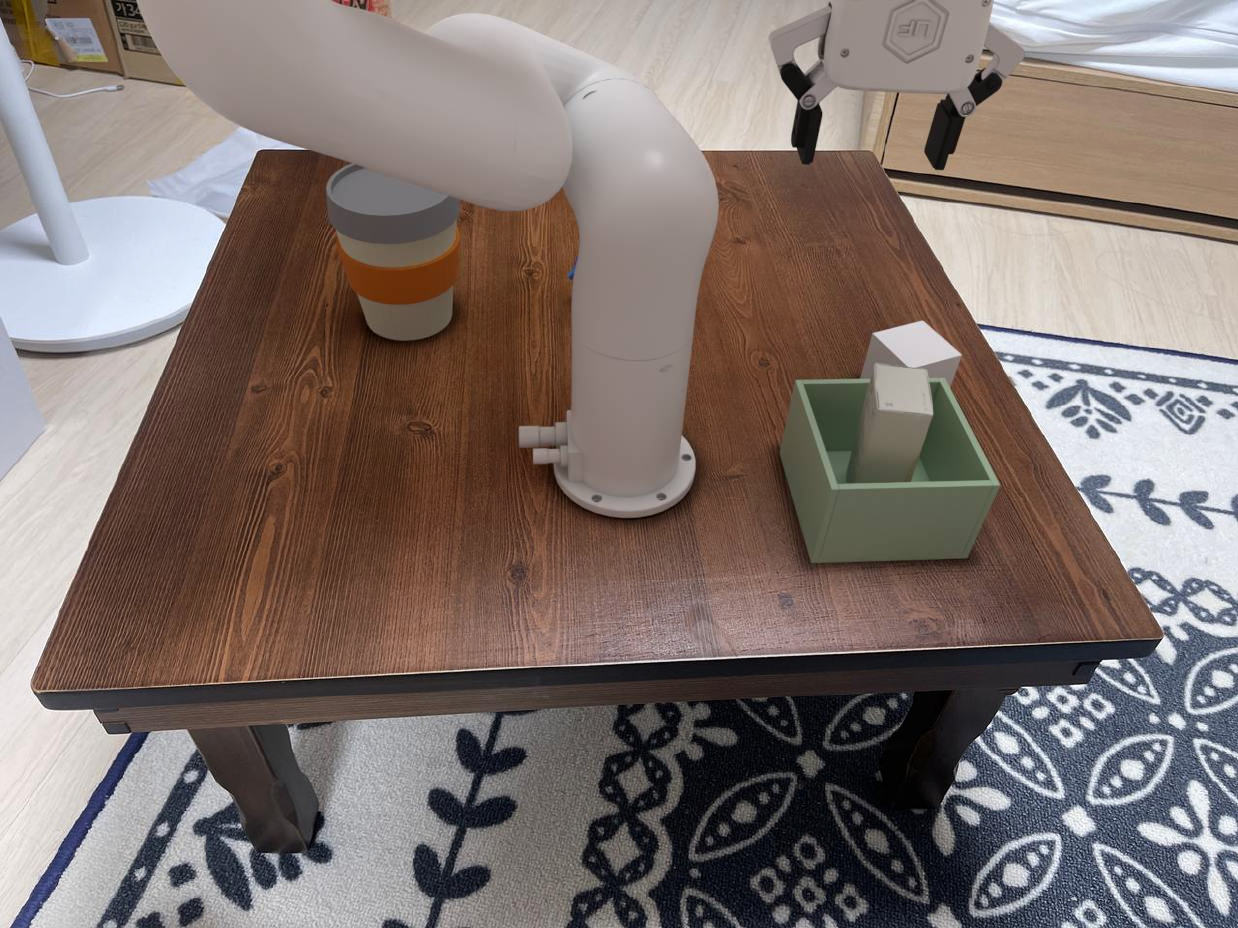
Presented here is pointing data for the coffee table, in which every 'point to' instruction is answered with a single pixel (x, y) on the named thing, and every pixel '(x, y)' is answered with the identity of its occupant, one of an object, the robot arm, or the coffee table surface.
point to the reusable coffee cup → (396, 250)
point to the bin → (883, 512)
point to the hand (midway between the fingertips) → (868, 159)
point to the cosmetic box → (891, 425)
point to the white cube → (913, 351)
